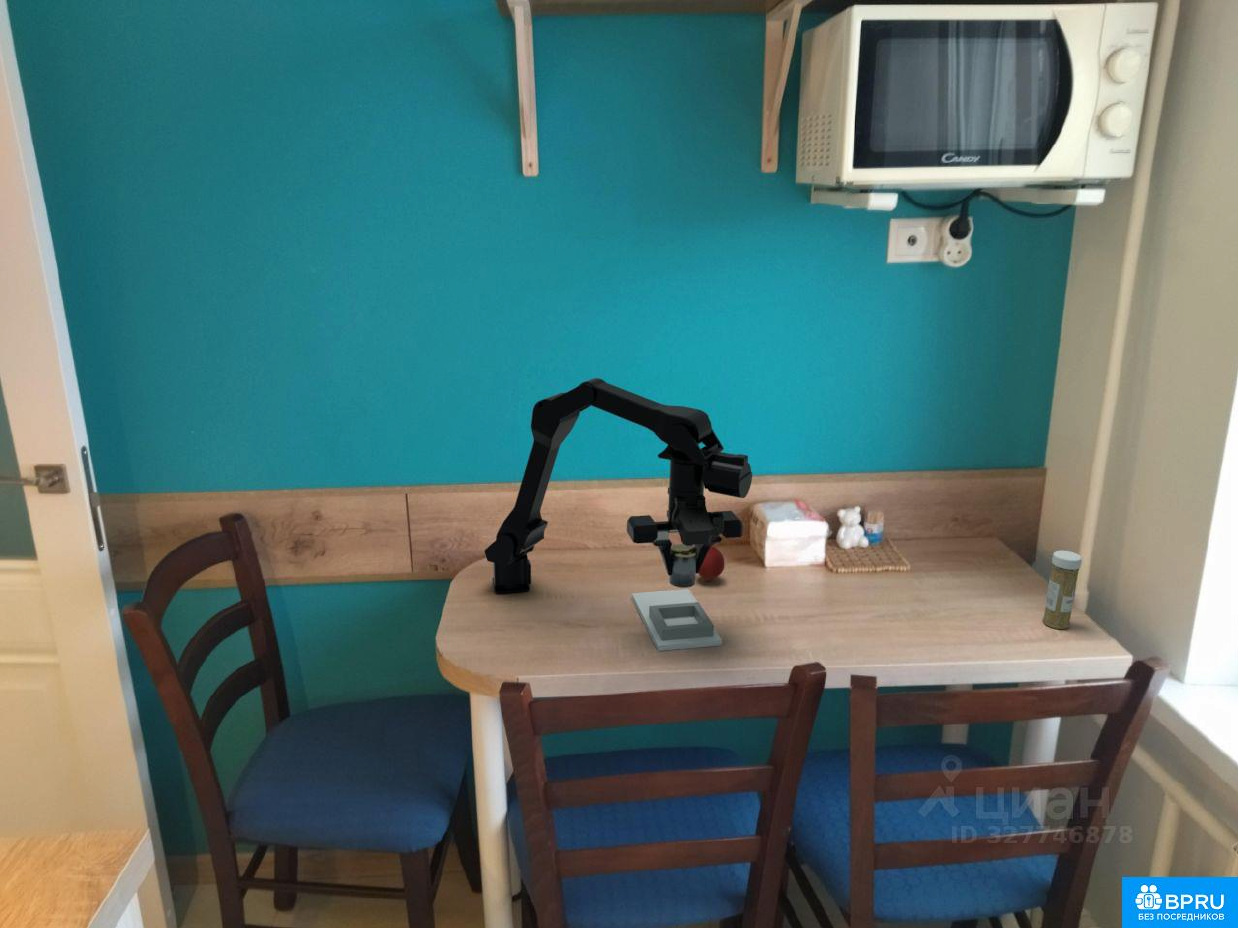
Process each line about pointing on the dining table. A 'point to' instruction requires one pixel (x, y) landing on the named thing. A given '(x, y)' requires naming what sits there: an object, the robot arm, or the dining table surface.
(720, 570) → the onion
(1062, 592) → the sprinkles bottle
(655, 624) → the dock
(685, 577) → the lidded tin can
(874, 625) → the dining table surface
